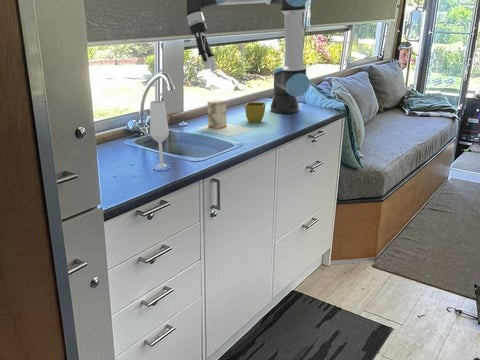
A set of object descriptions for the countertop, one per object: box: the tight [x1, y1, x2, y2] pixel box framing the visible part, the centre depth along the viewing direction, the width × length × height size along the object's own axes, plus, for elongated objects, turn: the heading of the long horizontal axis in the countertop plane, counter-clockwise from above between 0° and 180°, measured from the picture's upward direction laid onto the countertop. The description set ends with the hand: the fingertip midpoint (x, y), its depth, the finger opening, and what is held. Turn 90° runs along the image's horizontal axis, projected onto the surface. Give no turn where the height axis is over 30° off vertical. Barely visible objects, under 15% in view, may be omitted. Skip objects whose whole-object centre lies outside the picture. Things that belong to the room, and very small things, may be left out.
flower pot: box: [244, 101, 266, 124], centre depth 243 cm, size 9×9×9 cm
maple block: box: [207, 99, 228, 129], centre depth 232 cm, size 6×6×12 cm
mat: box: [195, 123, 255, 137], centre depth 231 cm, size 22×16×1 cm
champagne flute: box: [149, 100, 170, 168], centre depth 176 cm, size 7×7×24 cm
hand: (211, 69), depth 229 cm, fingers open, 13 cm apart
